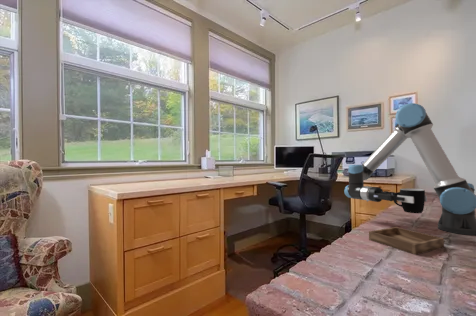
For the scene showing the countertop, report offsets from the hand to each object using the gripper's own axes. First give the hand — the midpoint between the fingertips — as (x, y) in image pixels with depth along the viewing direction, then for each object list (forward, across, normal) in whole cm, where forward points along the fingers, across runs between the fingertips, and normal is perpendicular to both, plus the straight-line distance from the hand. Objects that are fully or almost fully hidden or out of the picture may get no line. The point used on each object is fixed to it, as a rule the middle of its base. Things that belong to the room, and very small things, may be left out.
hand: (420, 199), depth 101 cm
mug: (-4, 0, -6) cm, 8 cm away
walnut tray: (+1, +14, -17) cm, 22 cm away
